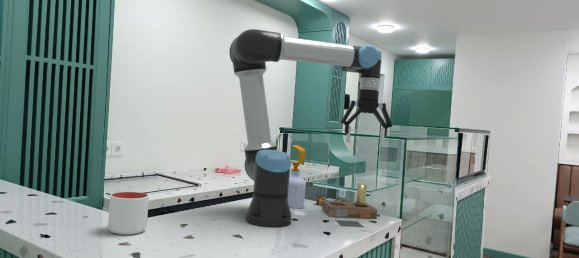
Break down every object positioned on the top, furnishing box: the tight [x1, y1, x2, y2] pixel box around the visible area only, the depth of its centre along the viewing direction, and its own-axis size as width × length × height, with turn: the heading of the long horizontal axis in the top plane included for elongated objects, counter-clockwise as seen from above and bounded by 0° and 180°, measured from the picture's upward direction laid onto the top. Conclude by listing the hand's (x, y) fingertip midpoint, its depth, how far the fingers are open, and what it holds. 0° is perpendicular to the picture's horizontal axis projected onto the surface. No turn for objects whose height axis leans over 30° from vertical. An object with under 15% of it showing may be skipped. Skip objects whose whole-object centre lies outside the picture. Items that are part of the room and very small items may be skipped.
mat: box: [335, 219, 365, 228], centre depth 142 cm, size 8×8×1 cm
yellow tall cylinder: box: [355, 183, 368, 207], centre depth 157 cm, size 4×4×12 cm
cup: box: [107, 191, 150, 236], centre depth 114 cm, size 10×10×10 cm
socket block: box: [321, 201, 378, 220], centre depth 157 cm, size 12×18×4 cm
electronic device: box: [316, 196, 351, 207], centre depth 171 cm, size 8×16×3 cm, turn 61°
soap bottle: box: [288, 144, 307, 210], centre depth 165 cm, size 9×9×25 cm
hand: (364, 143), depth 162 cm, fingers open, 13 cm apart
